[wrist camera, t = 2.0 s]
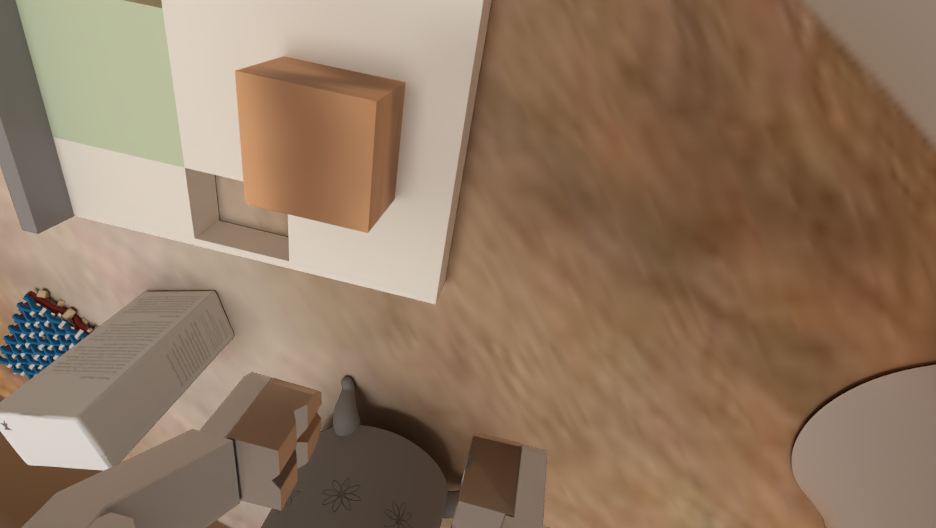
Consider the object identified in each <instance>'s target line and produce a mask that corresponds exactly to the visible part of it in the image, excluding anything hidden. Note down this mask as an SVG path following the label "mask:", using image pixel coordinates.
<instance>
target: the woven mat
mask: <svg viewBox="0 0 936 528" xmlns="http://www.w3.org/2000/svg"><path fill="white" fill-rule="evenodd" d="M48 298H49V293H48V291H46V290H39V292H38V294H36V293H34V292H32V291H30V292H28V293H27V294H26V295H25V296H24V298H23V299H24V300H26V301H27V302H26V303H24V304H23V303H22V302H20V303H17V307H18V308H19V310H18V311H20V313H22V314H21V315H18V314H14V315H13V316H12V318H13V319H14V322H15V323H17V325H15V326H14V325H9V326H8V329H9V330H10V333H11V334H13V335H12V336H9V335H7V336H4V338H3V339H4V340H5V341H6V342H5V343H7V344H8V345H7V346H6V347H5V346H4V345H3V346H1V347H0V350H1V351H2V352H1V353H3V354H5V356H6V358H7V359H5V358H2V357H1V356H0V363H2V364H7V365H8V366H7V367H8V368H12V370H13V373H14V374H17V373H19V374H20V375H22V376H24V377H25V374H26V375H27V376H28V378H29V380H30V379H31V378H33V377H34V375H37V374H38V373H39V372H41V371H42V370H43V369H45V368H46V367H47V366H49V365H50V364H51V363H52V362H54V361H55V360H56V359H58V358H59V357H60V356H61V355H63V354H64V353H65V352H67V351H68V350H69V349H71V348H72V347H73V346H75V345H76V344H77V343H79V342H80V341H81V340H83V339H84V338H85V337H86V336H88V335H89V334H90V333H92V332H93V331H94V330H95V329H97V328H98V326H95V328H94V329H92V328H90V329H89V328H88V327H87V325H88V323H89V320H87V319H86V318H84V317H83V319H82V321H81V322H80V320H79V317H78V315H76V314H75V313H76V311H75V310H73V309H72V308H70V307H69V309H63V306H64V303H65V301H64V300H62V299H60V300H59V301H58V303H57V304H56V305H54V304H53V303H51V302H49V301H48ZM61 314H63V315H61ZM73 322H74V324H75V326H73V325H72V323H73ZM76 327H77V328H76ZM81 338H82V339H81Z"/></svg>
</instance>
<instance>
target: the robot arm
mask: <svg viewBox="0 0 936 528" xmlns="http://www.w3.org/2000/svg"><path fill="white" fill-rule="evenodd" d="M321 404H322V403H321V392H319V391H317V390H313V389H310V388H306V387H303V386H300V385H296V384H293V383H289V382H286V381H283V380H279V379H276V378H272V377H268V376H265V375H261V374H257V373H254V372H251V373H249V374H248V375H246V376H245V377H243V379H242V380H241V381H240V382H239V383H238V385H237V386H236V387H235V388H234V390H233V391H232V392H231V393H230V394H229V396H228V397H227V398H226V399H225V400H224V402H223V403H222V404H221V405H220V406H219V408H218V409H217V410H216V411H215V413H214V414H213V415H212V416H211V417H210V419H209V420H208V421H207V422H206V423H205V425H204V426H203V427H202V428H201V430H200V431H199V430H194V429H192V430H189V431H187V432H185V433H183V434H181V435H179V436H177V437H175V438H172V439H170V440H168V441H166V442H164V443H162V444H160V445H158V446H155V447H153V448H151V449H149V450H147V451H145V452H143V453H141V454H138V455H136V456H134V457H132V458H130V459H128V460H126V461H124V462H121V463H119V464H117V465H115V466H113V467H111V468H109V469H107V470H104V471H102V472H100V473H98V474H96V475H94V476H92V477H90V478H88V479H85V480H83V481H81V482H79V483H77V484H75V485H73V486H70V487H68V488H66V489H64V490H62V491H60V492H58V493H56V494H55V495H54V496H53V497H52V498H51V499H50V500H49V501H48V502H47V503H46V504H45V505H44V506H43V507H42V508H41V509H40V510H39V511H38V512H37V513H36V514H35V515H34V516H33V517H32V518H31V519H30V520H29V521H28V522H27V523H26V524H25V525H24V526H23V527H22V528H206V527H207V526H209V525H210V524H211V523H213V522H214V521H216V520H217V519H218V518H220V517H221V516H223V515H224V514H225V513H227V512H228V511H230V510H231V509H232V508H234V507H235V506H237V505H238V504H239V503H240V500H241V501H245V502H249V503H253V504H257V505H261V506H265V507H269V508H273V509H277V510H282V508H283V507H284V505H285V503H286V501H287V499H288V498H289V496H290V494H291V492H292V490H293V489H294V487H295V485H296V483H297V469H298V468H300V467H301V466H303V465H305V464H307V463H308V461H309V459H310V457H311V455H312V454H313V452H314V449H315V446H316V444H317V441H318V438H319V434H320V429H321V417H320V416H319V415H318V413H317V411H318V409H319V407H320V405H321ZM546 466H547V453H546V450H543V449H540V448H536V447H532V446H528V445H524V444H521V443H518V442H514V441H510V440H506V439H502V438H498V437H494V436H490V435H486V434H482V433H478V432H474V433H473V437H472V441H471V445H470V449H469V453H468V458H467V461H466V465H465V469H464V473H463V477H462V481H461V486H460V490H459V495H458V499H457V503H456V504H457V505H456V509H455V513H454V517H453V521H452V525H451V528H549V527H546V526H543V517H544V500H545V483H546ZM792 470H793V474H794V477H795V479H796V482H797V483H798V485H799V487H800V488H801V490H802V491H803V492H804V493H805V495H806V496H807V497H808V498H809V500H810V501H811V502H812V503H813V505H814V506H815V507H816V509H817V510H818V511H819V513H820V514H821V516H822V517H823V518H824V522H825V526H826V528H936V365H930V366H925V367H919V368H913V369H909V370H904V371H900V372H896V373H892V374H889V375H886V376H882V377H879V378H877V379H874V380H871V381H869V382H866V383H864V384H862V385H859V386H857V387H855V388H853V389H851V390H849V391H847V392H845V393H844V394H842V395H840V396H839V397H837V398H835V399H834V400H832V401H831V402H830V403H828V404H827V405H825V406H824V407H823V408H822V409H820V410H819V411H818V412H817V413H816V414H815V415H814V416H813V417H812V418H811V419H810V420H809V421H808V423H807V424H806V425H805V426H804V428H803V429H802V431H801V432H800V434H799V436H798V437H797V440H796V442H795V445H794V448H793V452H792Z"/></svg>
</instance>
